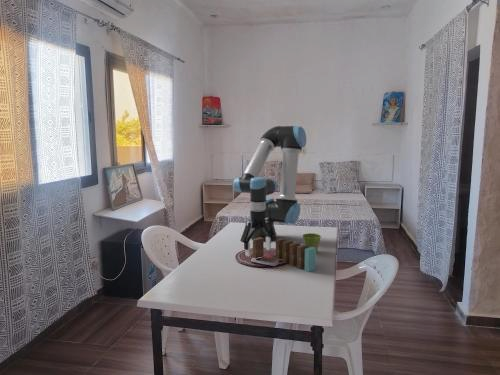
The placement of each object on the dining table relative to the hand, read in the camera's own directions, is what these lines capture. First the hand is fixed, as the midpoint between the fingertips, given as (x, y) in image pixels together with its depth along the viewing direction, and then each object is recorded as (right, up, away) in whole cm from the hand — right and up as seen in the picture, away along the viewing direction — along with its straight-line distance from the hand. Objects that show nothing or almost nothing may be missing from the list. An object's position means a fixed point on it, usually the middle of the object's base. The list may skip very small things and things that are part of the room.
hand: (258, 252), depth 182 cm
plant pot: (+27, -2, +9) cm, 29 cm away
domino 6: (+23, -5, -15) cm, 28 cm away
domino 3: (+14, -3, -4) cm, 15 cm away
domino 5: (+20, -5, -11) cm, 23 cm away
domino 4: (+17, -4, -8) cm, 19 cm away
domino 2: (+11, -3, -1) cm, 11 cm away
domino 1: (0, -3, +1) cm, 3 cm away
